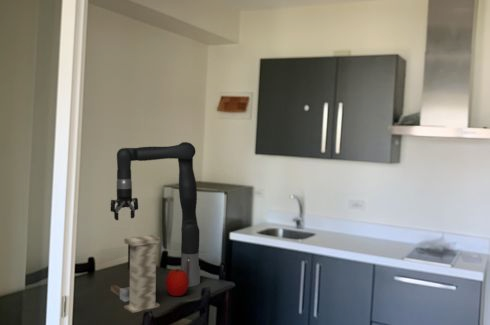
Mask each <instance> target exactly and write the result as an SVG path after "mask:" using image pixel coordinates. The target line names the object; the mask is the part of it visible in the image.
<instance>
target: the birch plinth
mask: <svg viewBox="0 0 490 325" xmlns="http://www.w3.org/2000/svg"><path fill="white" fill-rule="evenodd" d="M133 237H134V238H132V237H128V238H124V240H123V241H124V244H126V245H127V246H128V245H130V270H129V287H130V301H129V304H126V305H123V308H124V309H125V310H127V311H129V312H130V313H132V314H134V313H138V312H141V311H146V310H151V309H154V308H159V307H160V303H158V302H157V301H156V289H157V288H156V285H157V284H156V283H157V282H156V279H157V276H156V275H157V274H156V272H157V244H159V243H161V237H158V236H155V235H153V234H150V235H143V236H133Z"/></svg>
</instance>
